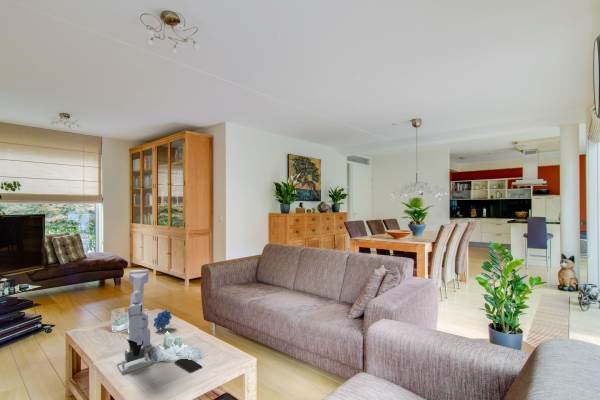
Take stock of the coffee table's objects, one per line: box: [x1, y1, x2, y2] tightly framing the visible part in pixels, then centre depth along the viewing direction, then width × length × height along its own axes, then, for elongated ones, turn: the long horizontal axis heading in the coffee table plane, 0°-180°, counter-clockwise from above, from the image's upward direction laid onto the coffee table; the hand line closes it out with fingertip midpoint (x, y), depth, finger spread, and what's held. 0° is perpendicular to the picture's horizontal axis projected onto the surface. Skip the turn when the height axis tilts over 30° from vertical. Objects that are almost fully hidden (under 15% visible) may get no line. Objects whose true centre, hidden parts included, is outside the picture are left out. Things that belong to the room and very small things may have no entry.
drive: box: [124, 346, 146, 363], centre depth 159 cm, size 8×4×5 cm, turn 133°
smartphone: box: [174, 358, 203, 374], centre depth 160 cm, size 7×1×15 cm
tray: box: [116, 353, 153, 375], centre depth 159 cm, size 14×9×4 cm, turn 133°
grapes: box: [153, 309, 173, 331], centre depth 205 cm, size 12×7×12 cm, turn 135°
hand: (135, 354), depth 159 cm, fingers closed on drive, 4 cm apart
